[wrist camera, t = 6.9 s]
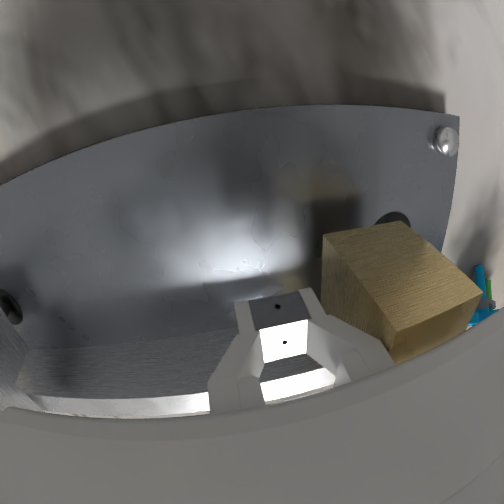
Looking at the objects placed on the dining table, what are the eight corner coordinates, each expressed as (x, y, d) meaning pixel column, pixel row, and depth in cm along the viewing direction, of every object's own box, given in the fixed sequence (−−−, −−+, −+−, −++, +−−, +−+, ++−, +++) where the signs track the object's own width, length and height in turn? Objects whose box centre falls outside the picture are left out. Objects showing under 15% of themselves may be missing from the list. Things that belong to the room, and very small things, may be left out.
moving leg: (310, 219, 12) (402, 339, 6) (383, 207, 12) (488, 297, 6) (308, 342, 17) (349, 443, 10) (364, 326, 17) (414, 414, 11)
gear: (417, 335, 19) (525, 324, 11) (417, 267, 21) (518, 242, 12) (454, 332, 24) (528, 323, 16) (454, 282, 26) (525, 267, 17)
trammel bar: (-29, 287, 11) (-76, 363, 4) (442, 197, 13) (534, 261, 7) (29, 369, 15) (8, 443, 9) (416, 304, 18) (470, 375, 11)
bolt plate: (-54, 219, 9) (-68, 231, 7) (445, 113, 12) (466, 118, 10) (54, 388, 18) (49, 403, 17) (404, 330, 21) (414, 344, 20)
